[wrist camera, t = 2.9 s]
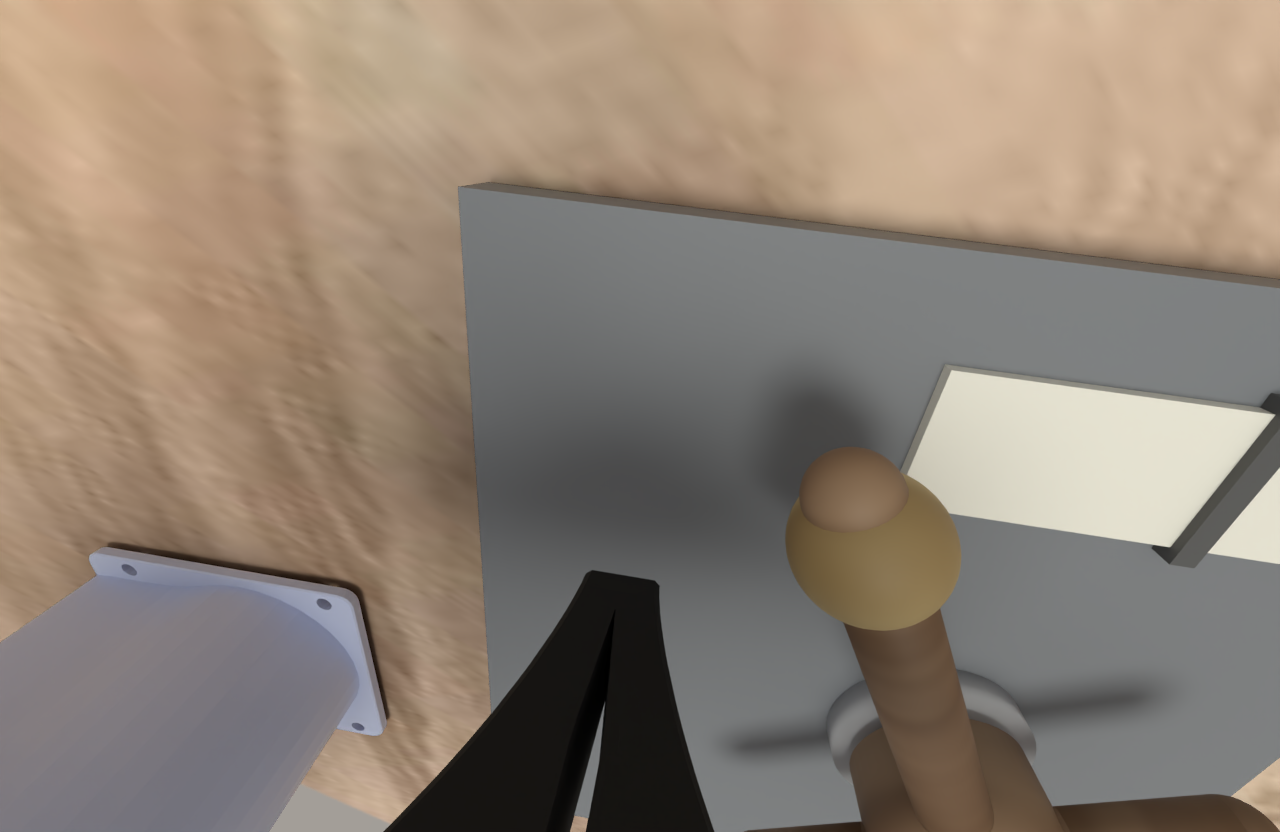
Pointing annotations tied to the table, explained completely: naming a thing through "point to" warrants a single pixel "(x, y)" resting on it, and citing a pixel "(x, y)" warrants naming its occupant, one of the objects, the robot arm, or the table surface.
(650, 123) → the table surface
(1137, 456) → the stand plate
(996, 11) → the table surface
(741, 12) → the table surface
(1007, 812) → the capstan dial
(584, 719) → the robot arm
